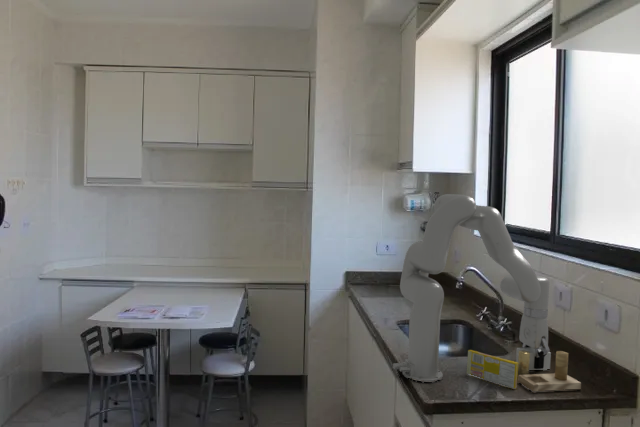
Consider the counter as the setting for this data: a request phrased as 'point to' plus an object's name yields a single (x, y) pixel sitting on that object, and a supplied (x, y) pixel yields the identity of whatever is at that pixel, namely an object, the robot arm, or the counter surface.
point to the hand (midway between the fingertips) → (532, 364)
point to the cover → (532, 357)
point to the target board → (552, 377)
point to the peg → (523, 362)
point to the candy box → (492, 368)
